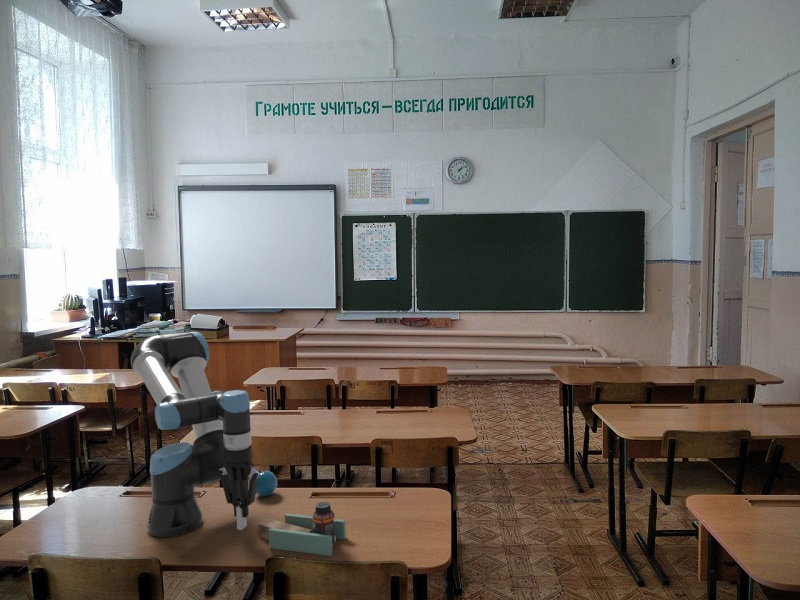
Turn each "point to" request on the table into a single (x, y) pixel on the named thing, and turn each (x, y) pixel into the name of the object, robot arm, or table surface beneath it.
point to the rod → (277, 527)
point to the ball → (266, 483)
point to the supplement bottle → (324, 520)
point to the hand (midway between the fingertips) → (242, 527)
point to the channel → (304, 536)
